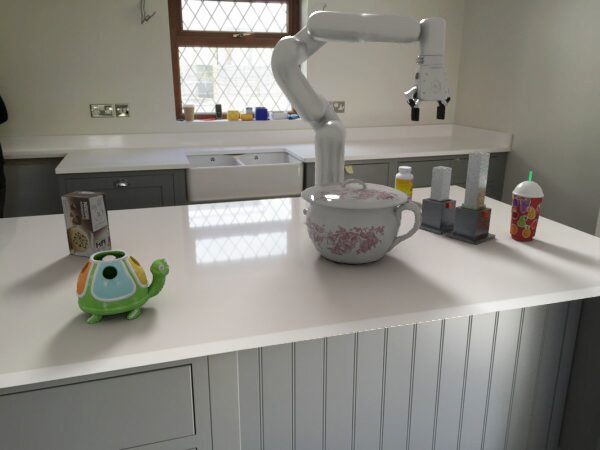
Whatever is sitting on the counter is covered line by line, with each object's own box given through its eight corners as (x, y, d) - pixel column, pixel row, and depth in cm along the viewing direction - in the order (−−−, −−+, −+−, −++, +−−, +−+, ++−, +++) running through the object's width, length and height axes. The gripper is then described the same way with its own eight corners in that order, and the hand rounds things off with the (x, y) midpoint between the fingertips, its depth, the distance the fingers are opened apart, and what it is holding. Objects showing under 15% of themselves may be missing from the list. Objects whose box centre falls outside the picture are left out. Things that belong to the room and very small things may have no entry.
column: (438, 227, 154) (444, 169, 149) (426, 223, 158) (430, 167, 152) (448, 224, 157) (453, 167, 152) (435, 221, 160) (440, 165, 155)
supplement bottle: (411, 203, 188) (414, 169, 184) (393, 202, 189) (396, 168, 185) (411, 198, 194) (414, 166, 190) (394, 198, 195) (396, 165, 191)
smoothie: (537, 236, 150) (547, 170, 144) (537, 244, 142) (547, 175, 136) (507, 232, 153) (515, 168, 147) (505, 240, 146) (514, 172, 140)
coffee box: (113, 250, 135) (106, 192, 130) (96, 258, 129) (89, 198, 125) (85, 247, 138) (78, 189, 133) (68, 254, 132) (60, 195, 127)
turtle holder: (177, 312, 100) (173, 257, 97) (79, 330, 93) (71, 271, 90) (166, 289, 111) (163, 238, 108) (78, 303, 104) (71, 249, 101)
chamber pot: (284, 245, 140) (284, 172, 134) (369, 234, 150) (372, 166, 144) (329, 282, 115) (331, 195, 109) (427, 266, 126) (434, 185, 120)
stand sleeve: (440, 234, 151) (443, 205, 148) (414, 226, 158) (416, 199, 156) (459, 228, 157) (462, 200, 154) (433, 221, 164) (436, 194, 162)
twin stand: (475, 244, 142) (485, 156, 135) (445, 236, 149) (453, 152, 142) (494, 238, 148) (505, 153, 140) (465, 230, 155) (474, 149, 148)
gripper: (414, 62, 144) (412, 122, 149) (462, 61, 150) (458, 119, 155) (399, 62, 150) (397, 120, 155) (445, 62, 157) (442, 118, 162)
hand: (427, 120), depth 155 cm, fingers open, 9 cm apart
